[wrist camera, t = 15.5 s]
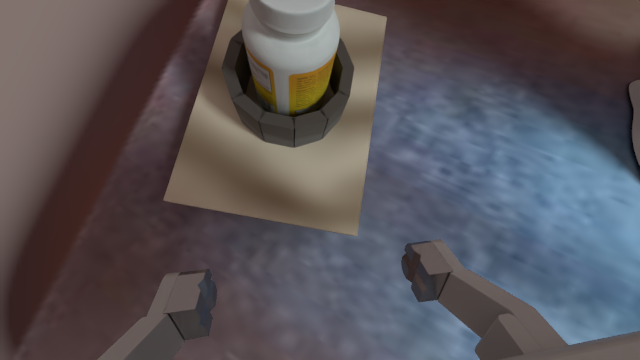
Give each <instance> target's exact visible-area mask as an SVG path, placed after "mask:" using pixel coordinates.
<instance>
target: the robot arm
mask: <svg viewBox="0 0 640 360" xmlns="http://www.w3.org/2000/svg"><path fill="white" fill-rule="evenodd" d="M629 94H630V98H631V102H632V105H633V109H634V117H633V125H632V140H633V146H634V150H635V154H636V157H637V160H638V163H639V165H640V79H639V80H636V81H633V82H631V83H630V85H629ZM404 250H405V252H406V254H405V255H404V256H403V257H402V261H401V265H402V270H403V273H404V275H405V277H406V279H408V280H409V281H410V282H412V285H411V289H412V291H413V293H414V295H415V297H416V299H417V300H418V302H425V301H433V300H438V302H439V303H441V304H442V305H443V306H444V307H445V308H446V309H448V310H449V311H450V312H451V313H452V314H454V315H455V316H456V317H457V318H458V319H459V320H461V321H462V322H463V323H464V324H465V325H466V326H468V327H469V328H470V329H471V330H472V331H473V332H475V333H476V334H477V335H478V336H479V337H481V338H482V339H481V340H480V341H479V343H478V344H477V346H476V347H475V352H476V354H477V355H478V357H479V359H480V360H640V331H637V332H632V333H627V334H622V335H617V336H612V337H607V338H602V339H597V340H592V341H587V342H582V343H577V344H573V345H567V343H566V342H565V341H564V340H563V339H562V338H561V337H560V336H559V335H558V333H557V332H556V331H555V330H554V329H553V328H552V327H551V326H550V325H549V324H548V322H547V321H546V320H545V319H544V318H543V317H542V316H541V315H540V314H539V312H538V311H537V310H536V309H535V308H534V307H532V306H530V305H528V304H527V303H525V302H523V301H522V300H520V299H518V298H517V297H515V296H513V295H511V294H510V293H508V292H506V291H505V290H503V289H501V288H499V287H498V286H496V285H494V284H493V283H491V282H489V281H487V280H486V279H484V278H482V277H481V276H479V275H477V274H475V273H474V272H472V271H470V270H465V268H464V267H463V266H462V265H461V263H460V262H459V261H458V259H457V258H456V257H455V256H454V254H453V253H452V252H451V250H450V249H449V248H448V247H447V245H446V244H445V243H444V242H443V241H442V240H441V239H440V240H432V241H423V242H415V243H408V244H407V245H406V246H405V249H404ZM211 276H212V274H211V272H210V269H206V270H196V271H186V272H177V273H169V274H166V275H165V276H164V277H163V279H162V281H161V284H160V286H159V288H158V291H157V293H156V295H155V297H154V300H153V302H152V304H151V307H150V309H149V311H148V314H147V316H146V317H142V318H141V319H140V320H138V321H137V322H136V323H135V324H134V325H133V326H132V327H131V328H130V329H129V330H128V331H127V332H126V333H125V334H124V335H123V336H122V337H121V338H119V339H118V340H117V341H116V342H115V343H114V344H113V345H112V346H111V347H110V348H109V349H108V350H107V351H106V352H105V353H104V354H103V355H101V356H100V357H99V358H98V359H97V360H172V359H173V358H174V356H175V355H176V353H177V352H178V351H179V349H180V348H181V347H182V345H183V344H184V342H185V340H190V339H195V338H201V337H206V336H209V333H210V328H211V324H212V319H213V317H212V315H211V313H210V312H211V310H212V309H213V308H214V307H215V304H216V299H217V289H216V284H215V282H214V281H213V280H211Z"/></svg>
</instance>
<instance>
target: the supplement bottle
mask: <svg viewBox="0 0 640 360" xmlns="http://www.w3.org/2000/svg"><path fill="white" fill-rule="evenodd" d="M334 5H335V0H249V1H248V3H247V5H246V7H245V9H244V12H243V16H242V35H243V39H244V43H245V48H246V52H247V56H248V60H249V64H250V68H251V72H252V76H253V81H254V85H255V89H256V94H257V97H258V100H259V103H260V105H261V107H262V108H263V110H264V111H265V112H270V113H275V114H279V115H284V116H289V117H293V118H294V117H297V116H301V115H304V114H308V113H312V112H315V111H319V110H320V108H321V107H322V105H323V102H324V99H325V95H326V91H327V87H328V83H329V79H330V75H331V71H332V67H333V63H334V59H335V55H336V52H337V48H338V43H339V37H340V26H339V21H338V17H337V14H336V12H335V10H334Z"/></svg>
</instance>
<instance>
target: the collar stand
mask: <svg viewBox="0 0 640 360" xmlns="http://www.w3.org/2000/svg"><path fill="white" fill-rule="evenodd" d="M248 1H249V0H228V2H227V5H226V8H225V12H224V15H223V18H222V21H221V24H220V27H219V30H218V33H217V36H216V39H215V42H214V45H213V48H212V51H211V55H210V58H209V61H208V64H207V67H206V70H205V73H204V76H203V79H202V82H201V85H200V88H199V91H198V95H197V98H196V101H195V104H194V107H193V110H192V113H191V116H190V119H189V122H188V125H187V128H186V131H185V135H184V138H183V141H182V144H181V147H180V150H179V153H178V156H177V159H176V162H175V165H174V168H173V171H172V175H171V178H170V181H169V184H168V187H167V190H166V193H165V196H164V199H163V201H167V202H171V203H176V204H181V205H187V206H192V207H198V208H203V209H209V210H214V211H220V212H225V213H231V214H236V215H242V216H247V217H253V218H258V219H264V220H269V221H275V222H280V223H286V224H291V225H297V226H302V227H308V228H313V229H319V230H324V231H330V232H335V233H341V234H346V235H352V236H357V233H358V226H359V218H360V211H361V204H362V196H363V189H364V182H365V174H366V167H367V160H368V152H369V145H370V138H371V130H372V123H373V116H374V108H375V101H376V94H377V86H378V79H379V72H380V64H381V57H382V50H383V42H384V35H385V28H386V20H387V17H385V16H381V15H377V14H373V13H369V12H365V11H361V10H356V9H352V8H348V7H344V6H340V5H336V4H335V5H334V10H335V12H336V14H337V17H338V21H339V26H340V37H339V43H338V48H337V52H336V55H335V59H334V63H333V67H332V71H331V75H330V79H329V83H328V87H327V91H326V95H325V99H324V102H323V105H322V107H321V108H320V110H319V111H315V112H312V113H308V114H304V115H301V116H297V117H294V118H293V117H289V116H284V115H279V114H275V113H270V112H265V111H264V110H263V108H262V107H261V105H260V103H259V100H258V97H257V94H256V89H255V85H254V81H253V76H252V72H251V68H250V64H249V60H248V56H247V52H246V48H245V43H244V39H243V35H242V16H243V12H244V9H245V7H246V5H247V3H248Z"/></svg>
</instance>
